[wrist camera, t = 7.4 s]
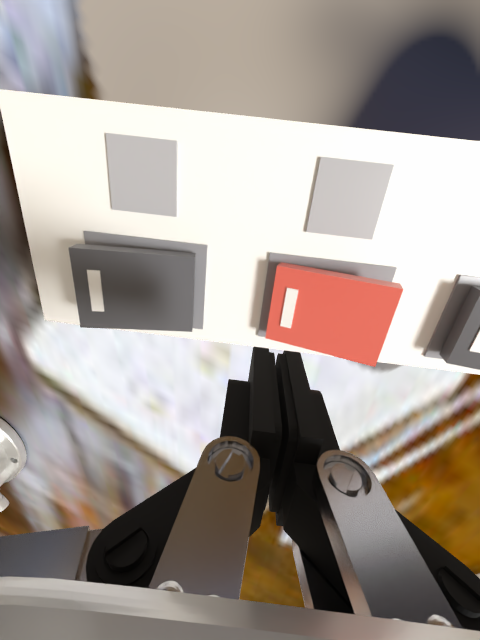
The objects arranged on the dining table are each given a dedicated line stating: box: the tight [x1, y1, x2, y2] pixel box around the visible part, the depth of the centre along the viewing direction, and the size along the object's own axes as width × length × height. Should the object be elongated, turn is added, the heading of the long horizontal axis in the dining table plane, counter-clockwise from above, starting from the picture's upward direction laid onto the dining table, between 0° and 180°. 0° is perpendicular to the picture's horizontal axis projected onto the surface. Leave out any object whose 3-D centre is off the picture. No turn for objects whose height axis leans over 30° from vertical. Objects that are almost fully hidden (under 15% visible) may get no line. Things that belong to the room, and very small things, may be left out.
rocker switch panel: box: [0, 89, 480, 374], centre depth 19 cm, size 53×14×4 cm, turn 84°
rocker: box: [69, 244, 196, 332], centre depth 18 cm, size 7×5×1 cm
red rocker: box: [265, 262, 403, 367], centre depth 18 cm, size 7×5×1 cm
